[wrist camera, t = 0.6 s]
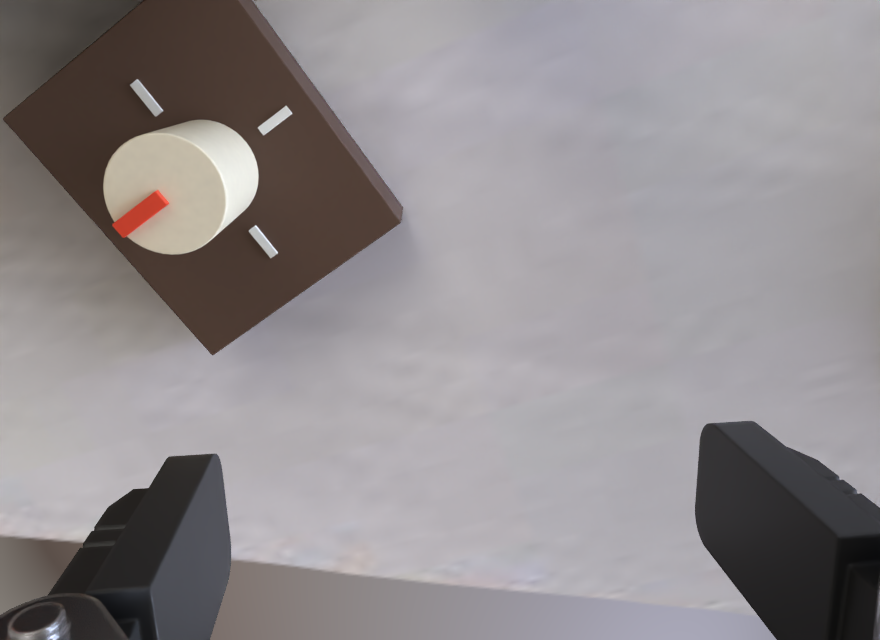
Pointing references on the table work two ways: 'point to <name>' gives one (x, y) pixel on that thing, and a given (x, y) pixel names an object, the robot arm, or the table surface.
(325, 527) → the table surface
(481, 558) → the table surface
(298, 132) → the plate
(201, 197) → the dial
